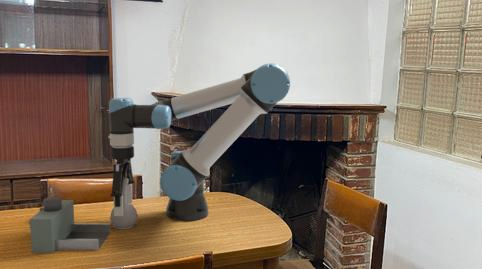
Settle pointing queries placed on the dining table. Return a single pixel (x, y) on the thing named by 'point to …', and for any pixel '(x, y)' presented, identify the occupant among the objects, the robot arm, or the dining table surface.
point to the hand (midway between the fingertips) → (123, 209)
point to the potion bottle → (124, 212)
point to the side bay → (84, 236)
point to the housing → (51, 224)
